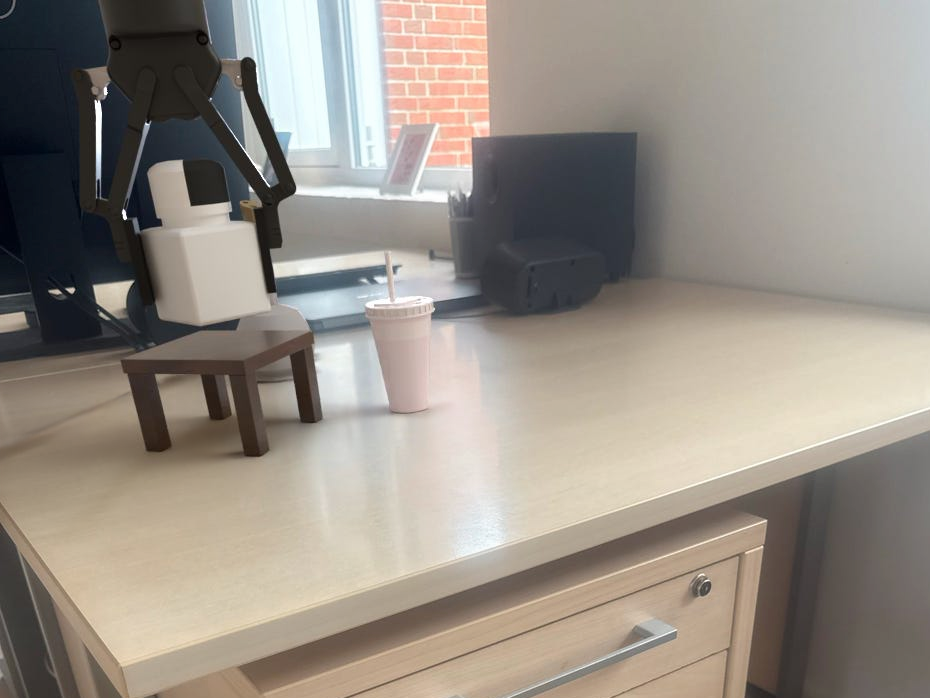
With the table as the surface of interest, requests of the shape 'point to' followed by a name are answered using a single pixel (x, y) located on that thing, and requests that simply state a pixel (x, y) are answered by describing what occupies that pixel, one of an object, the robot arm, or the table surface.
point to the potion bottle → (272, 320)
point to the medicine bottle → (201, 248)
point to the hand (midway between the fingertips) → (211, 297)
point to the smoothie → (402, 345)
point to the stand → (214, 360)
